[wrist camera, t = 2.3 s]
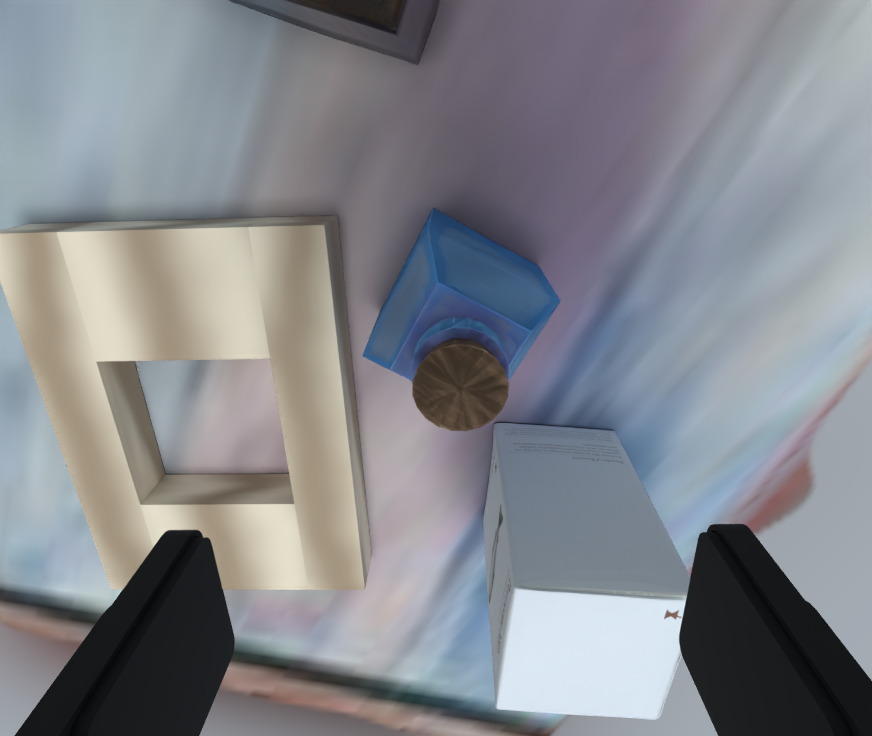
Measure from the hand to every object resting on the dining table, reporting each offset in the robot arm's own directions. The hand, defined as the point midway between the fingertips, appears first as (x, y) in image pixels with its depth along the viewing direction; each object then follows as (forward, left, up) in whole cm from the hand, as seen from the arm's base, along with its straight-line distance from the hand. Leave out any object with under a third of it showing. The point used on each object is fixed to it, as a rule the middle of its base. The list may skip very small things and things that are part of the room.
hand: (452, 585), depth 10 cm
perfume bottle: (0, 0, -20) cm, 20 cm away
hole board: (+14, +7, -20) cm, 25 cm away
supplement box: (-5, +12, -20) cm, 24 cm away
